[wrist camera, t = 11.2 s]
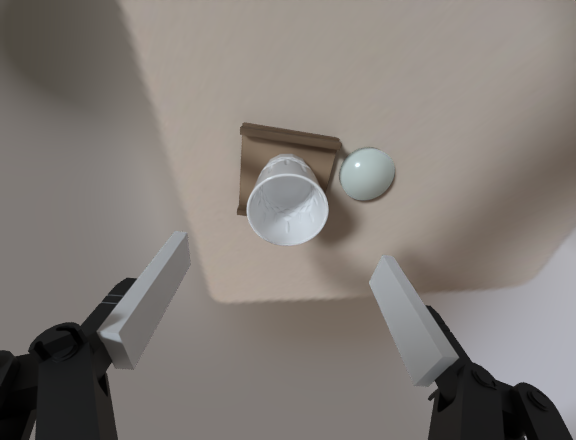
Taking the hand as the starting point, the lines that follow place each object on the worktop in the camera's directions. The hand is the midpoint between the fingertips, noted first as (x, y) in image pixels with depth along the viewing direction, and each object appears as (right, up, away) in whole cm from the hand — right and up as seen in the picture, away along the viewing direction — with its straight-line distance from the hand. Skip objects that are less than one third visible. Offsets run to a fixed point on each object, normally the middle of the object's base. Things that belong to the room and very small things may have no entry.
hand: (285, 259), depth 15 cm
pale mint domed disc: (+11, +9, +16) cm, 22 cm away
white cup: (0, +8, +15) cm, 17 cm away
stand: (0, +9, +16) cm, 18 cm away
